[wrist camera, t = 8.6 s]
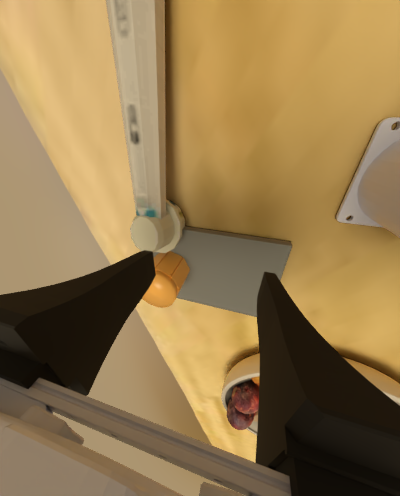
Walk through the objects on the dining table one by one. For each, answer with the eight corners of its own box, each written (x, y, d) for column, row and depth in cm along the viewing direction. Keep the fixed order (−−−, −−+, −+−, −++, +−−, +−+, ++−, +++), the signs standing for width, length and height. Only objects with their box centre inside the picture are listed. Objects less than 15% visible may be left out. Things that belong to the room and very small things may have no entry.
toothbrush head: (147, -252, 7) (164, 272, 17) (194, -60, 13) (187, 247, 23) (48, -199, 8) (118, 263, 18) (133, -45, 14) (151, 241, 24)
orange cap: (193, 261, 23) (179, 287, 19) (183, 286, 26) (169, 313, 22) (159, 245, 23) (138, 267, 19) (152, 271, 26) (132, 295, 22)
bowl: (444, 346, 21) (528, 437, 15) (398, 444, 34) (432, 517, 27) (208, 333, 32) (196, 381, 26) (240, 410, 45) (237, 456, 38)
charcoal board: (290, 241, 19) (298, 265, 16) (266, 313, 26) (267, 342, 22) (143, 220, 23) (122, 234, 20) (153, 287, 30) (138, 308, 26)
